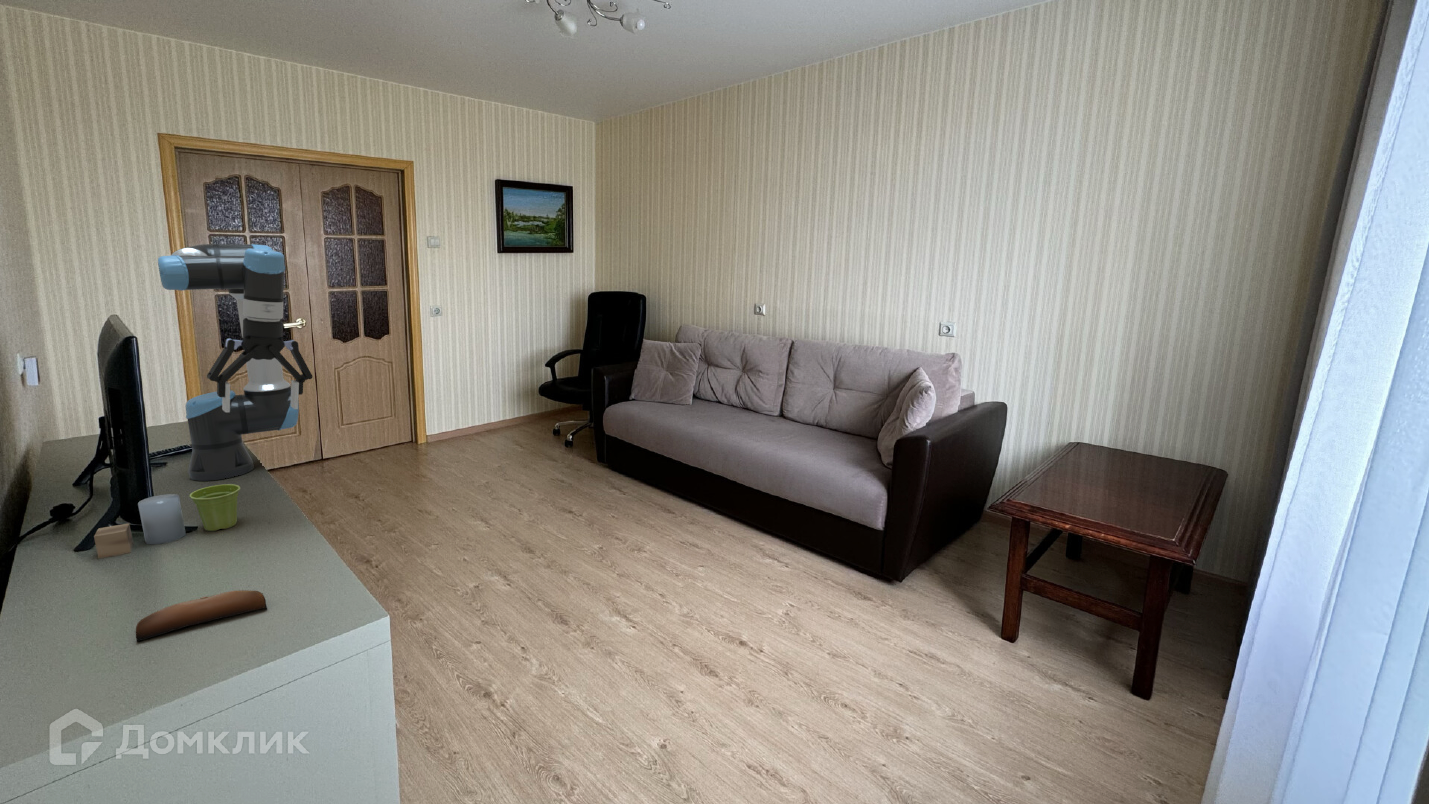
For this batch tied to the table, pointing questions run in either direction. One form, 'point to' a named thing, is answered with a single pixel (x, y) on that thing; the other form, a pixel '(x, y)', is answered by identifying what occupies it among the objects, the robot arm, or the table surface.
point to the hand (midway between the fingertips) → (261, 409)
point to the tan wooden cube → (113, 540)
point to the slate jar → (161, 519)
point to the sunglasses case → (199, 612)
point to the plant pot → (217, 506)
